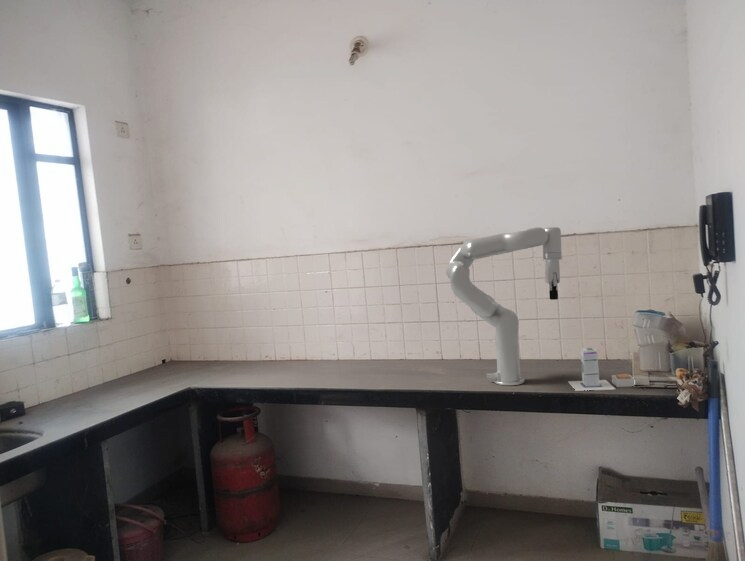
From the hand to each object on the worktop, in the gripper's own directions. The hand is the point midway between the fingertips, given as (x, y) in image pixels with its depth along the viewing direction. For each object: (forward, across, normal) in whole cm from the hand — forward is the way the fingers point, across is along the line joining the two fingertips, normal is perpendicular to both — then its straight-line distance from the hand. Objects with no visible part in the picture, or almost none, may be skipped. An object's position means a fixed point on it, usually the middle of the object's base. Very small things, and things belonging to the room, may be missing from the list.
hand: (553, 299), depth 238 cm
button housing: (+34, +14, +24) cm, 44 cm away
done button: (+33, +14, +24) cm, 43 cm away
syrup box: (+34, +14, +11) cm, 38 cm away
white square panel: (+34, +14, +11) cm, 39 cm away
